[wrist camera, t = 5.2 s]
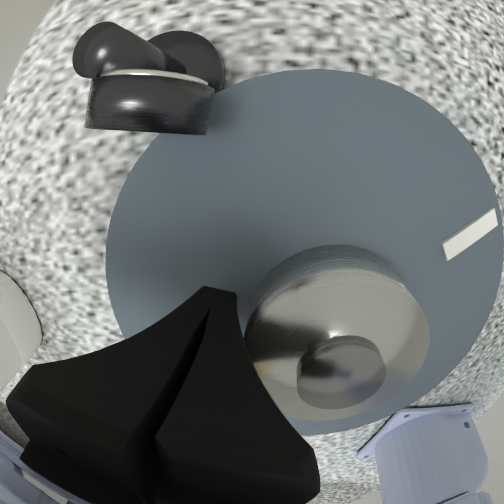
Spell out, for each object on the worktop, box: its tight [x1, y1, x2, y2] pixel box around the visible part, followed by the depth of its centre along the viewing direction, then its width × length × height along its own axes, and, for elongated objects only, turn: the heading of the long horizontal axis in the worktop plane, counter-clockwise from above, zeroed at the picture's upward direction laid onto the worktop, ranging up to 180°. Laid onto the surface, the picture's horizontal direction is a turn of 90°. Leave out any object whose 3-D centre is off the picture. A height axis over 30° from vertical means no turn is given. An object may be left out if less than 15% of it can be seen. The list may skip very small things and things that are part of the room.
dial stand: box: [72, 22, 225, 135], centre depth 7 cm, size 5×4×7 cm
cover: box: [244, 245, 430, 421], centre depth 9 cm, size 6×6×3 cm
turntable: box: [106, 69, 504, 436], centre depth 10 cm, size 18×18×5 cm
